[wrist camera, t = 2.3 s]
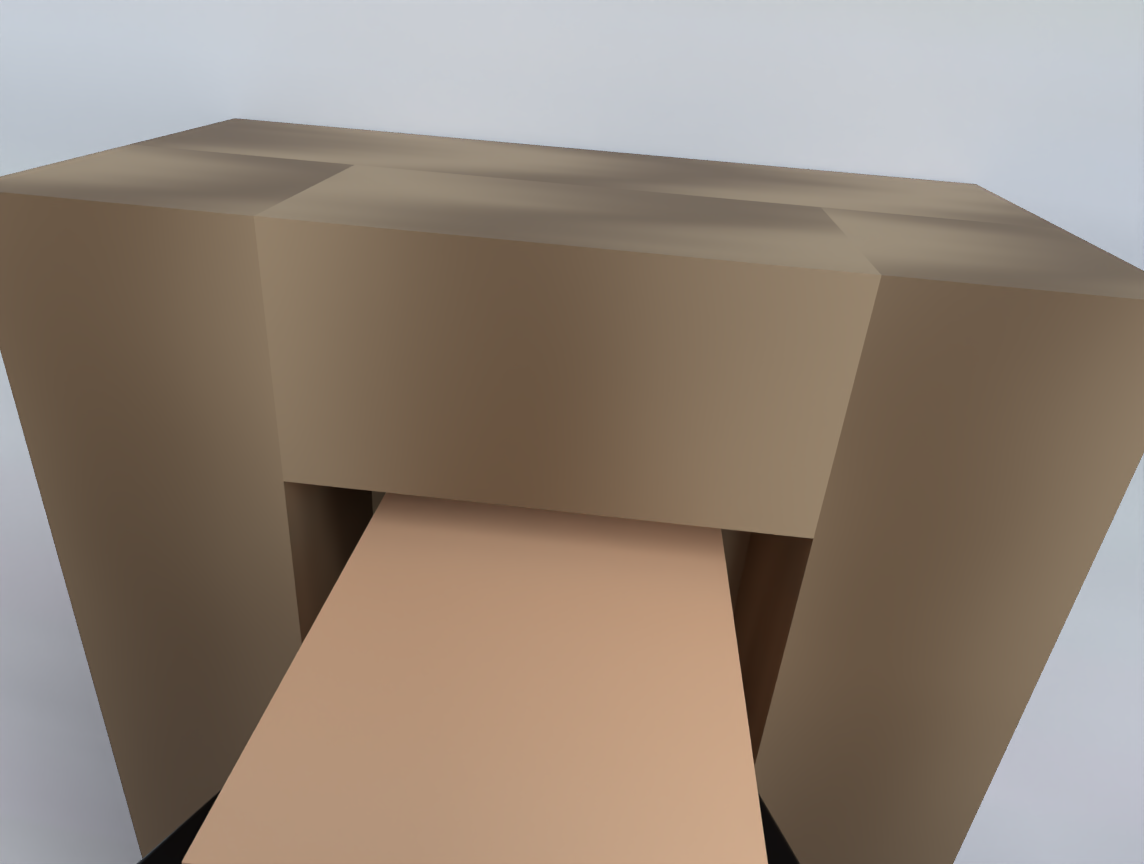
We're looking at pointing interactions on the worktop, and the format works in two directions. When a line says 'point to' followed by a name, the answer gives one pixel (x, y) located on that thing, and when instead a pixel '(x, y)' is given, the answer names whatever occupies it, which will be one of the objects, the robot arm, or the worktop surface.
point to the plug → (505, 702)
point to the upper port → (574, 427)
